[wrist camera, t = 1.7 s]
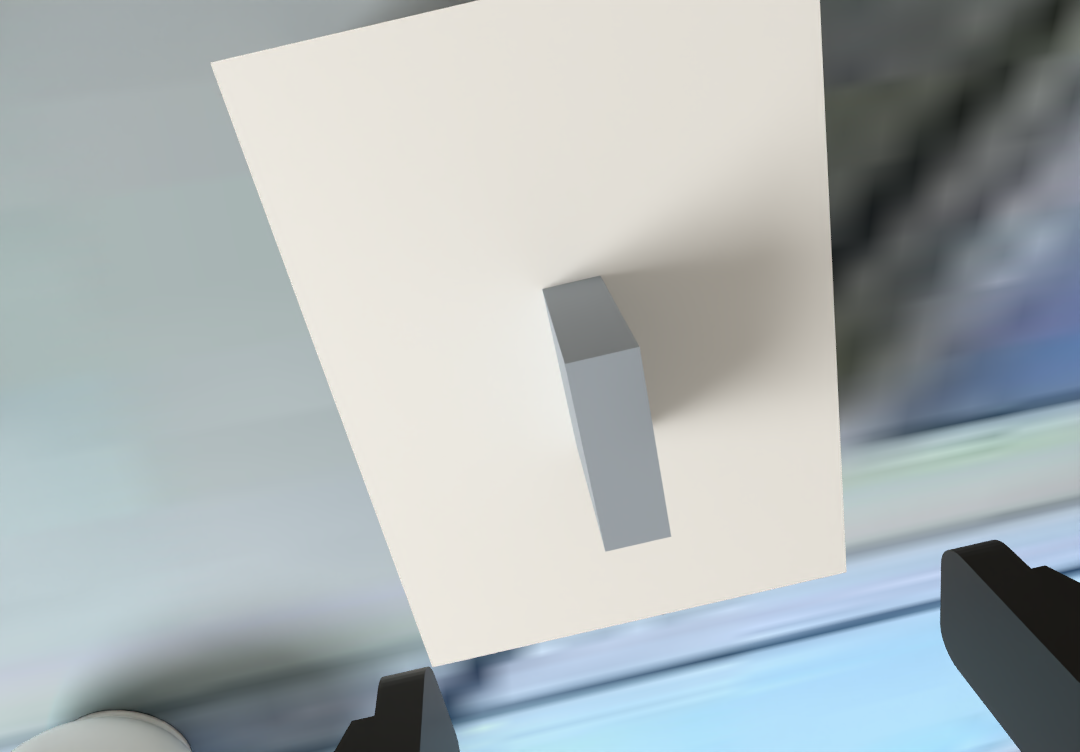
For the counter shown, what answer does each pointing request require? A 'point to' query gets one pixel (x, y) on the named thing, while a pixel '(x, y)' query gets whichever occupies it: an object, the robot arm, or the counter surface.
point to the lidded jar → (109, 735)
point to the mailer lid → (566, 299)
